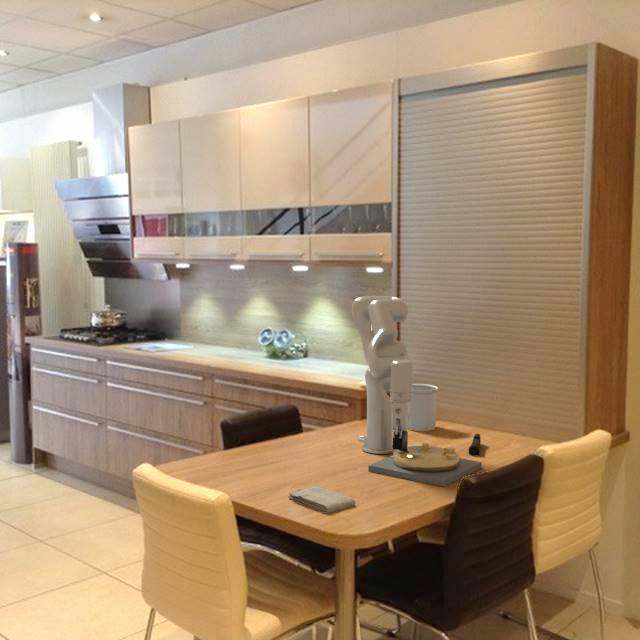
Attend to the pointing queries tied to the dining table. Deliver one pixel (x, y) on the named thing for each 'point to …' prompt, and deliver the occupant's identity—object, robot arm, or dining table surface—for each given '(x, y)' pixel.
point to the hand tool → (475, 445)
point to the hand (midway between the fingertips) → (399, 446)
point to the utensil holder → (423, 407)
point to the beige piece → (425, 457)
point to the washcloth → (321, 499)
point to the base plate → (434, 478)
